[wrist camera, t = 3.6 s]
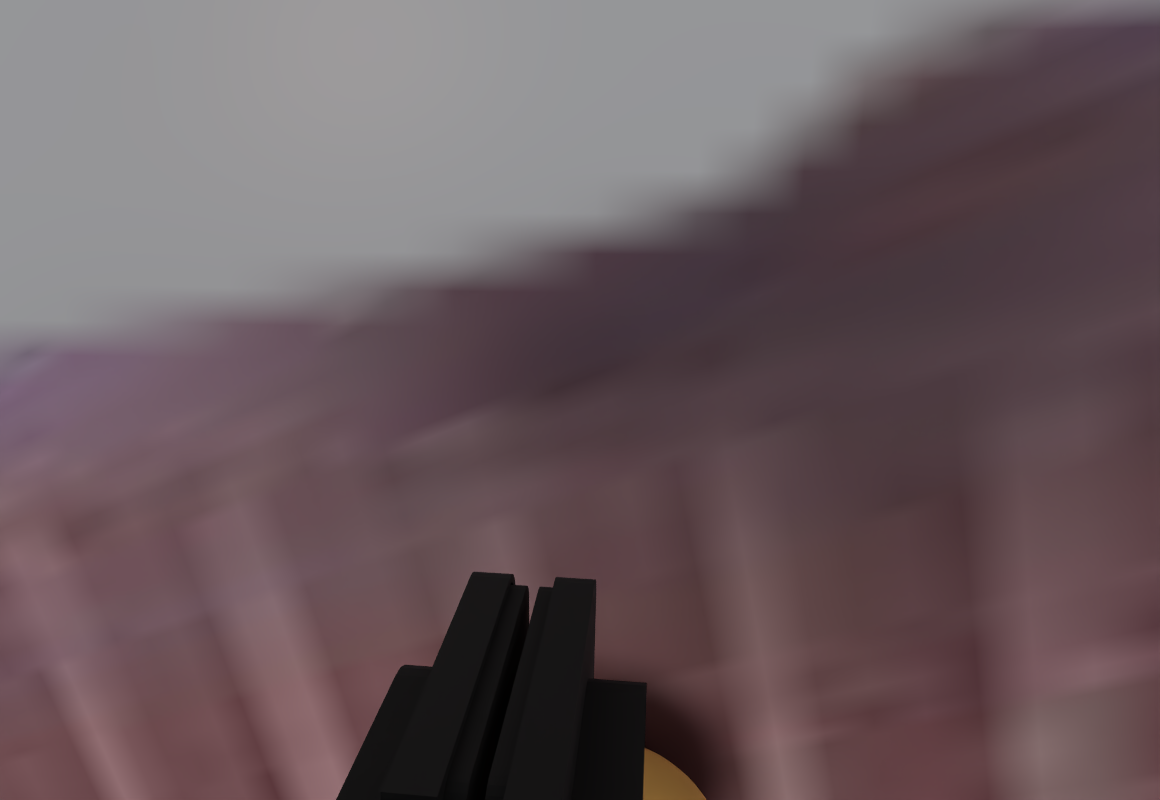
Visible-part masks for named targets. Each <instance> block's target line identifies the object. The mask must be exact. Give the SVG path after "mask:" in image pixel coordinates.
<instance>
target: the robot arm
mask: <svg viewBox="0 0 1160 800" xmlns="http://www.w3.org/2000/svg"><path fill="white" fill-rule="evenodd" d="M595 615H596V580H593V579H578V578H562V577H556V578H555V582H554V586H553V588H551V587H539V590H538V593H537V597H536V601H535V605H534V609H533V612H532V616H531V620H530V624H529V589H528V586H521V585H515V578H514V575H513V574H501V573H486V572H473V573H472V575H471V576H470V579H469V581H468V584H467V586H466V588H465V591H464V593H463V596H462V598H461V600H460V603H459V605H458V607H457V610H456V612H455V615H454V617H453V619H452V622H451V624H450V627H449V629H448V631H447V634H446V636H445V638H444V641H443V643H442V646H441V648H440V650H439V653H438V655H437V657H436V660H435V662H434V665H433V667H428V666H415V665H404V666H402V667H401V668H400V669H399V671H398V672H397V674H396V676H395V678H394V680H393V682H392V684H391V686H390V688H389V690H388V693H387V695H386V697H385V699H384V701H383V703H382V705H381V707H380V709H379V711H378V713H377V716H376V718H375V720H374V722H373V724H372V726H371V728H370V730H369V732H368V734H367V736H366V738H365V741H364V743H363V745H362V747H361V749H360V751H359V753H358V755H357V757H356V759H355V761H354V764H353V766H352V768H351V770H350V772H349V774H348V776H347V778H346V780H345V782H344V784H343V787H342V789H341V791H340V793H339V795H338V797H337V799H336V800H643V785H644V752H645V720H646V686H647V685H646V683H641V682H627V681H614V680H601V679H594V650H595Z"/></svg>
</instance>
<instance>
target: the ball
mask: <svg viewBox="0 0 1160 800" xmlns="http://www.w3.org/2000/svg"><path fill="white" fill-rule="evenodd" d="M643 800H706V798H705V797H704V795H703V794H702V793H701V791H700V790H699V789H698V787H697V786H696V785H695V784H694V783H693V782H692V781H691V779H690V778H689V777H688V776H687V775H686V774H684V773H683V772H682V771H681V770H680V769H679V768H677V767H676V766H675V765H674V764H672V763H671V762H670V761H668V760H667V759H665V758H664V757H662V756H660V755H659V754H657V753H655V752H653V751H651V750H649V749H646V748H645V752H644V785H643Z"/></svg>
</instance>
